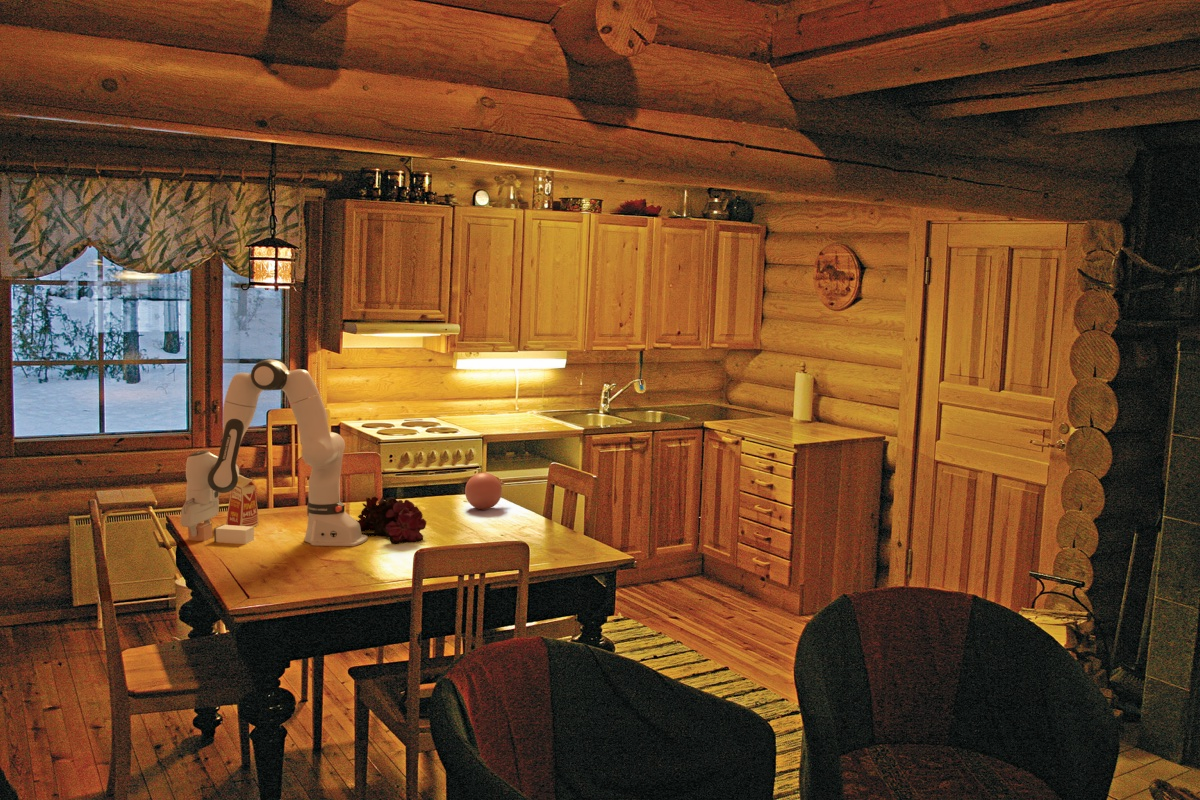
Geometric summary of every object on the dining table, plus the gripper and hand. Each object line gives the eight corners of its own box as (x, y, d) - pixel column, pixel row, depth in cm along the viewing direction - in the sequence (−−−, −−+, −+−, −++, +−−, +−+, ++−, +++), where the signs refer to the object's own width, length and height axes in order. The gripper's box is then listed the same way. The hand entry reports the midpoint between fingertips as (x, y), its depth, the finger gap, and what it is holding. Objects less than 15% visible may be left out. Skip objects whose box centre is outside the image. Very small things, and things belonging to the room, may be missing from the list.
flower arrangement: (346, 533, 402) (346, 493, 401) (387, 524, 418) (388, 486, 416) (400, 547, 383) (400, 506, 381) (441, 538, 398) (442, 498, 396)
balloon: (517, 507, 453) (517, 472, 451) (482, 514, 438) (482, 477, 436) (492, 502, 463) (492, 467, 461) (457, 508, 448) (457, 472, 446)
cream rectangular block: (253, 540, 385) (253, 526, 385) (245, 544, 379) (245, 530, 379) (222, 538, 387) (222, 524, 387) (214, 542, 381) (214, 528, 381)
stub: (212, 537, 388) (212, 523, 387) (203, 541, 382) (203, 527, 381) (197, 536, 389) (197, 522, 388) (188, 540, 383) (188, 526, 382)
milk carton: (225, 527, 406) (224, 475, 404) (244, 522, 415) (243, 471, 412) (243, 530, 402) (242, 477, 400) (261, 525, 410) (260, 474, 408)
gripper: (192, 502, 373) (193, 541, 375) (221, 491, 393) (222, 527, 395) (175, 501, 374) (176, 539, 376) (205, 490, 394) (206, 526, 396)
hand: (200, 533), depth 385 cm, fingers closed on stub, 6 cm apart
